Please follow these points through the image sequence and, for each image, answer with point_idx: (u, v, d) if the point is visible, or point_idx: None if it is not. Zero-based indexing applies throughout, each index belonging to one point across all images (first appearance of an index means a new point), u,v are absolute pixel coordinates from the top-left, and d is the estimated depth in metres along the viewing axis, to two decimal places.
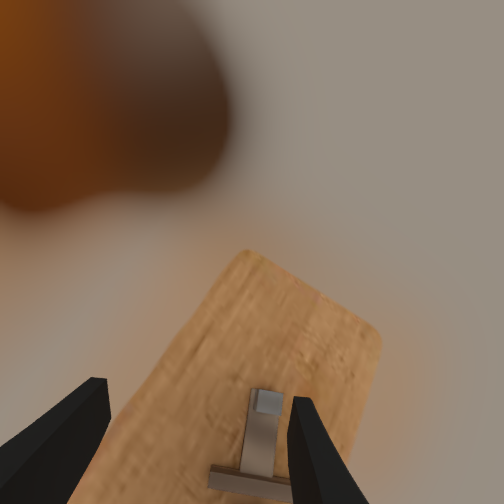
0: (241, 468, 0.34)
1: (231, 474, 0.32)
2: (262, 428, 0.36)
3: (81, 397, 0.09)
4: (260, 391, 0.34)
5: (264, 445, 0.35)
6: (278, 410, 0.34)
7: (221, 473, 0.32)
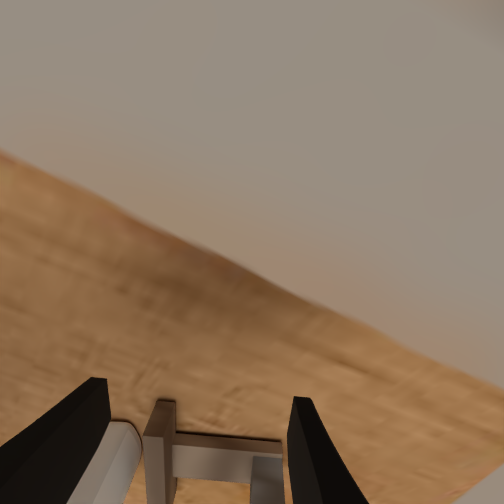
0: (176, 446, 0.23)
1: (165, 456, 0.21)
2: (229, 466, 0.24)
3: (82, 398, 0.09)
4: None
5: (208, 469, 0.24)
6: None
7: (163, 448, 0.21)
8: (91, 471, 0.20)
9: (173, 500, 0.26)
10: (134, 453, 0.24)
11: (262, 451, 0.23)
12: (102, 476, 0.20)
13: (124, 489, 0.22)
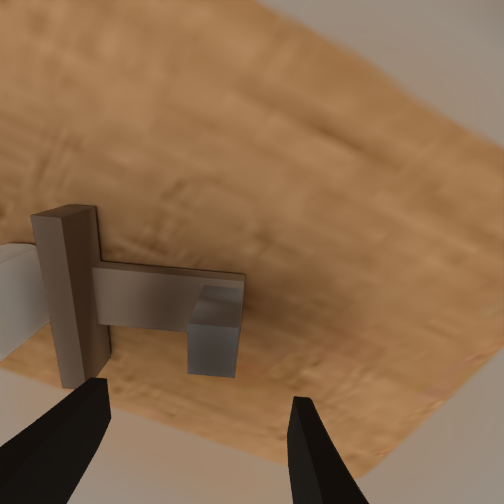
0: (98, 270, 0.17)
1: (71, 261, 0.15)
2: (172, 305, 0.18)
3: (82, 397, 0.09)
4: (233, 331, 0.13)
5: (144, 309, 0.18)
6: (197, 368, 0.14)
7: (65, 241, 0.14)
8: None
9: (103, 365, 0.19)
10: (41, 282, 0.17)
11: (216, 279, 0.17)
12: None
13: (17, 315, 0.16)
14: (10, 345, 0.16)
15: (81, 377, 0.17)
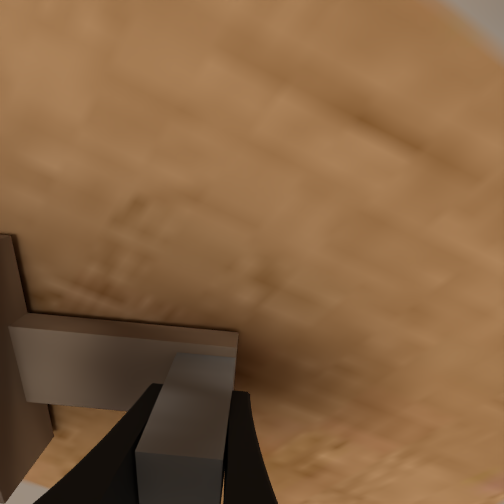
0: (18, 330, 0.11)
1: None
2: (131, 378, 0.12)
3: (151, 404, 0.09)
4: (213, 464, 0.08)
5: (91, 383, 0.12)
6: None
7: None
8: None
9: (40, 452, 0.14)
10: None
11: (195, 342, 0.11)
12: None
13: None
14: None
15: None
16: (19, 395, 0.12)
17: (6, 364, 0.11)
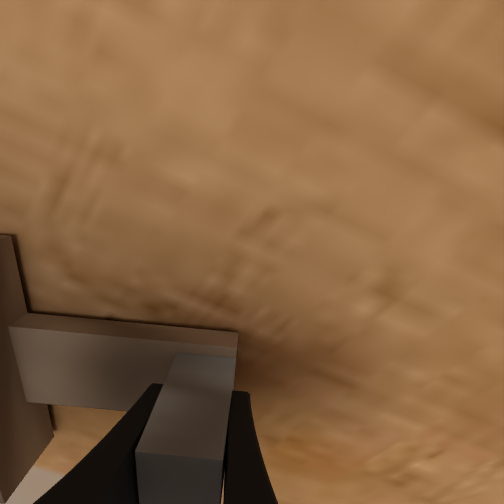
0: (18, 330, 0.11)
1: None
2: (131, 378, 0.12)
3: (151, 404, 0.09)
4: (214, 464, 0.08)
5: (91, 383, 0.12)
6: None
7: None
8: None
9: (40, 452, 0.14)
10: None
11: (195, 343, 0.11)
12: None
13: None
14: None
15: None
16: (19, 395, 0.12)
17: (6, 364, 0.11)
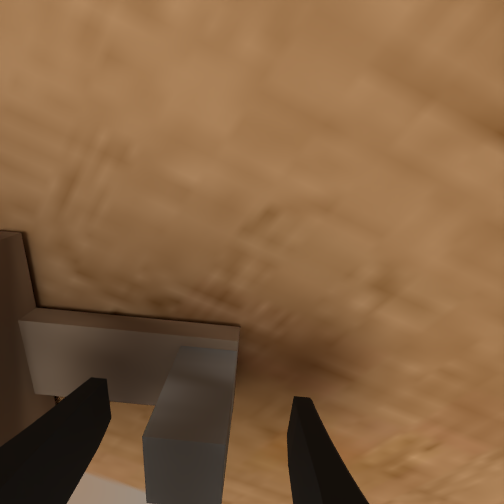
0: (27, 323, 0.12)
1: None
2: (136, 370, 0.12)
3: (82, 398, 0.09)
4: (217, 449, 0.08)
5: (98, 376, 0.13)
6: (161, 496, 0.09)
7: None
8: None
9: None
10: None
11: (198, 336, 0.12)
12: None
13: None
14: None
15: None
16: (28, 387, 0.13)
17: (16, 357, 0.12)
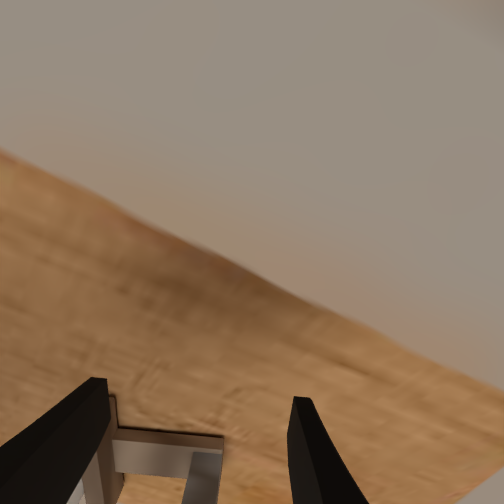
0: (116, 441, 0.23)
1: (99, 450, 0.21)
2: (170, 462, 0.24)
3: (81, 397, 0.09)
4: None
5: (150, 464, 0.24)
6: None
7: None
8: None
9: (118, 495, 0.26)
10: None
11: (202, 446, 0.23)
12: None
13: (80, 485, 0.22)
14: None
15: None
16: (113, 470, 0.24)
17: (110, 457, 0.23)
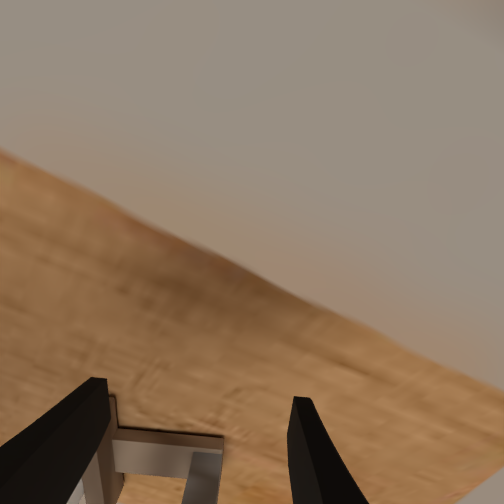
0: (116, 441, 0.23)
1: (99, 450, 0.21)
2: (170, 462, 0.24)
3: (81, 397, 0.09)
4: None
5: (150, 464, 0.24)
6: None
7: None
8: None
9: (118, 495, 0.26)
10: None
11: (202, 446, 0.23)
12: None
13: (80, 485, 0.22)
14: None
15: None
16: (113, 470, 0.24)
17: (110, 457, 0.23)
